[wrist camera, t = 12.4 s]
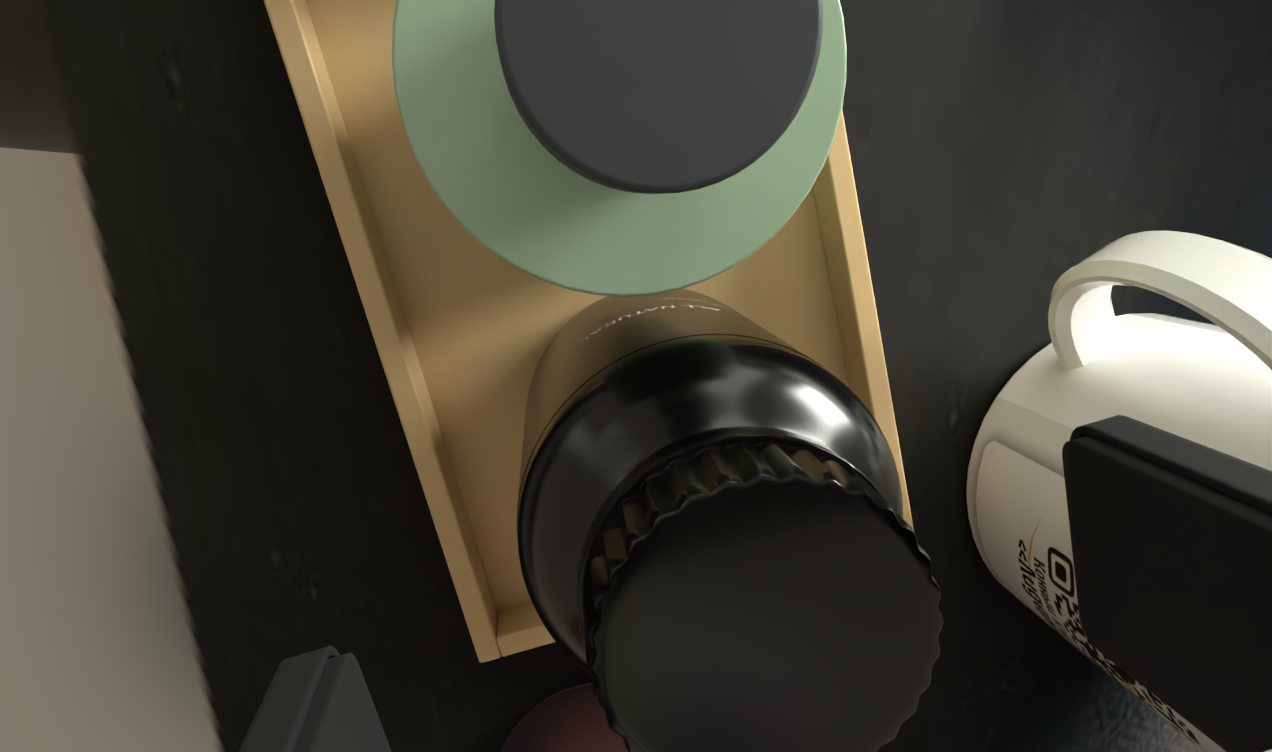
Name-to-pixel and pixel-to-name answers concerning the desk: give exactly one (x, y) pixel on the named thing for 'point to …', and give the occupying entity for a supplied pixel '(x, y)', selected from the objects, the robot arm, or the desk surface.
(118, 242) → the desk surface
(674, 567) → the supplement bottle
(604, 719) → the beverage can
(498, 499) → the tray
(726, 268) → the middle bottle
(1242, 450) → the mug
